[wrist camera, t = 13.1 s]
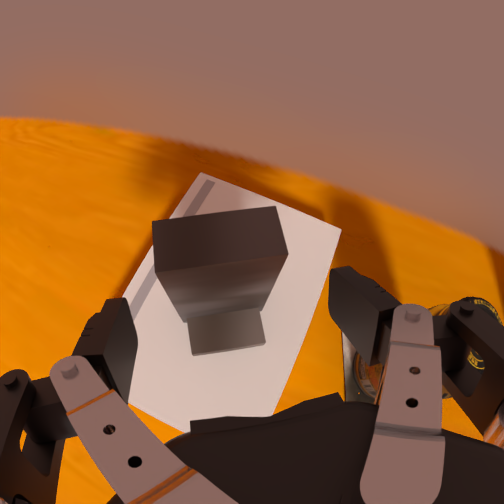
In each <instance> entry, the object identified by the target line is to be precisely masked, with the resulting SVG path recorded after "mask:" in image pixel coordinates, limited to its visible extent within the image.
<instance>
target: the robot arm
mask: <svg viewBox="0 0 504 504" xmlns="http://www.w3.org/2000/svg"><path fill="white" fill-rule="evenodd" d="M328 308H329V313H330V315H331V317H332V319H333V320H334V321H335V323H336V324H337V325H338V327H339V328H340V329H341V331H342V332H343V333H344V334H345V336H346V337H347V338H348V340H349V341H350V342H351V344H352V345H353V346H354V348H355V349H356V350H357V352H358V353H359V354H360V356H361V357H362V358H363V359H364V361H365V362H366V363H367V365H368V366H369V367H370V366H373V365H376V364H379V363H381V364H382V365H383V366H382V370H381V374H380V379H379V384H378V389H377V393H376V397H375V402H374V404H372V403H366V402H358V401H345V402H343V400H342V398H341V396H340V395H339V393H338V392H337V393H333V394H329V395H326V396H322V397H318V398H314V399H311V400H306V401H303V402H301V403H299V404H297V405H295V406H292V407H290V408H288V409H286V410H283V411H281V412H279V413H277V414H274V415H272V416H268V417H241V416H224V417H217V418H209V419H200V420H191V421H190V432H187V433H184V434H182V435H179V436H177V437H175V438H173V439H171V440H169V441H168V442H166V443H165V444H163V443H162V442H161V441H160V440H159V439H158V438H157V437H156V436H155V435H154V434H153V433H152V432H151V431H150V430H149V429H148V428H147V426H146V425H145V424H144V423H143V422H142V421H141V420H140V419H139V418H138V417H137V416H136V414H135V413H134V412H133V411H132V410H131V409H130V408H129V407H128V399H129V393H130V387H131V381H132V376H133V370H134V365H135V359H136V354H137V349H138V337H137V332H136V328H135V325H134V322H133V318H132V315H131V311H130V308H129V304H128V301H127V299H126V298H125V297H122V298H114V299H107V300H106V301H105V303H104V306H103V308H102V310H101V312H100V313H95V314H94V315H93V316H92V317H91V318H90V319H89V320H88V321H87V323H86V325H85V327H84V330H83V332H82V334H81V337H80V338H79V340H78V342H77V344H76V347H75V349H74V351H73V353H72V355H71V356H69V357H65V358H63V359H61V360H59V361H58V362H57V363H55V364H54V366H53V367H52V368H51V370H50V376H49V377H46V378H41V379H37V380H33V381H31V379H30V377H29V375H28V374H27V372H26V371H24V370H21V369H15V370H11V371H9V372H7V373H5V374H4V375H3V376H1V377H0V504H55V503H56V494H57V486H58V479H59V472H60V466H61V460H62V454H63V449H64V443H65V439H66V438H71V437H75V436H79V438H80V440H81V441H82V443H83V445H84V446H85V448H86V450H87V451H88V453H89V454H90V456H91V458H92V459H93V461H94V462H95V464H96V465H97V467H98V468H99V470H100V471H101V473H102V474H103V475H104V477H105V478H106V480H107V481H108V482H109V484H110V485H111V487H112V488H113V489H114V491H115V492H116V494H115V495H114V496H113V497H112V498H111V499H110V500H109V501H108V502H107V504H504V326H502V325H501V324H500V323H499V322H497V321H496V320H495V319H494V318H492V317H491V316H490V315H489V314H487V313H486V312H485V311H484V310H482V309H481V308H480V307H478V306H477V305H475V304H473V303H471V302H467V301H455V302H453V303H451V304H450V307H449V311H448V314H447V315H439V316H432V314H431V312H430V311H429V310H428V309H426V308H425V307H423V306H420V305H416V304H403V305H402V304H401V303H400V302H399V301H398V300H397V299H395V298H394V297H393V296H392V295H391V294H389V293H388V292H386V290H385V289H384V288H382V287H380V285H379V284H377V283H376V282H375V281H374V280H372V279H370V278H367V277H365V276H363V275H362V276H361V275H360V274H359V273H357V272H356V271H355V270H354V269H353V268H351V267H350V266H346V267H340V268H334V269H331V271H330V275H329V297H328ZM471 349H473V350H474V351H476V352H477V353H478V354H479V355H480V356H481V357H482V359H483V361H484V372H483V374H482V375H481V374H480V373H479V372H478V370H477V369H476V368H475V367H474V366H473V365H472V364H471V363H470V362H469V361H468V360H467V359H468V357H469V354H470V352H471ZM442 385H443V386H444V387H445V388H446V390H447V391H448V392H449V393H450V395H451V396H452V397H453V398H454V400H455V401H456V402H457V403H458V405H459V406H460V407H461V408H462V410H463V411H464V412H465V414H466V415H467V416H468V417H469V419H470V420H471V421H472V423H473V424H474V425H475V426H476V428H477V429H478V430H479V432H480V433H481V434H482V436H483V440H484V441H480V440H477V439H473V438H470V437H467V436H463V435H460V434H457V433H454V432H451V431H448V430H445V429H442V428H441V422H442ZM23 430H24V431H25V432H26V433H27V435H26V439H25V442H24V446H23V449H22V452H21V449H20V437H21V434H22V431H23Z"/></svg>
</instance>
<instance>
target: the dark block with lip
mask: <svg viewBox="0 0 504 504" xmlns="http://www.w3.org/2000/svg"><path fill="white" fill-rule="evenodd" d="M152 233H153V253H154V269H155V274H156V276H157V278H158V280H159V281H160V283H161V285H162V287H163V288H164V290H165V292H166V294H167V296H168V297H169V299H170V301H171V302H172V304H173V306H174V308H175V309H176V311H177V313H178V314H179V316H180V318H181V319H182V321H183V323H186V322H187V326H188V333H189V339H190V346H191V353H192V355H193V356H199V355H207V354H213V353H220V352H227V351H233V350H239V349H245V348H251V347H256V346H262V345H264V344H265V343H266V340H265V335H264V330H263V325H262V320H261V316H260V311H262V310H263V308H264V306H265V304H266V301H267V299H268V297H269V295H270V293H271V291H272V289H273V287H274V285H275V282H276V280H277V278H278V276H279V274H280V272H281V270H282V268H283V265H284V263H285V261H286V259H287V257H288V255H289V253H288V249H287V245H286V242H285V238H284V234H283V230H282V227H281V223H280V219H279V215H278V212H277V208H276V206H268V207H259V208H250V209H241V210H233V211H225V212H217V213H209V214H201V215H193V216H186V217H179V218H172V219H165V220H158V221H152Z"/></svg>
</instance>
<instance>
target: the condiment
mask: <svg viewBox="0 0 504 504" xmlns="http://www.w3.org/2000/svg"><path fill="white" fill-rule="evenodd" d="M459 301H467V302H471V303H473V304H475V305H477V306H478V307H480V308H481V309H482V310H484V311H485V312H486V313H487V314H489V315H490V316H491V317H492V318H494V319H495V320H496V321H497V322H499V323H500V324H501V325H502V322H501V319H500V317H499V315H498V313H497V311H496V310H495V308H494V307H493V306H492V305H491V304H490V303H489V302H487V301H486V300H484V299H482V298H476V297H466V298H463V299H461V300H459ZM449 307H450V305H449V304H442V305H437V306H434V307H432V308H429V309H428V310H429V311H430V312H431V314H432V316H439V315H447V314H448V311H449ZM502 326H503V325H502ZM342 336H343V355H344V371H345V387H346V401H358V402H366V403H372V404H374V402H375V397H376V393H377V389H378V384H379V379H380V374H381V370H382V366H383V365H382V364H381V363H379V364H376V365H373V366H370V367H369V366H368V365H367V363H366V362H365V361H364V359H363V358H362V357H361V356H360V354H359V353H358V352H357V350H356V349H355V348H354V346H353V345H352V344H351V342H350V341H349V340H348V338H347V337H346V336H345V334H344V333H343V332H342ZM467 360H468V361H469V362H470V363H471V364H472V365H473V366H474V367H475V368H476V369H477V370H478V372H479V373H480V374H481V375H482V374H483V372H484V361H483V359H482V357H481V356H480V355H479V354H478V353H477V352H476V351H474V350H473V349H471V352H470V354H469V357H468V359H467ZM358 393H360V394H358ZM450 397H452V396H451V395H450V393H449V392H448V391H447V390H446V388H445V387H444V386H443V385H442V399H447V398H450Z"/></svg>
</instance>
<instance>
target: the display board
mask: <svg viewBox="0 0 504 504" xmlns="http://www.w3.org/2000/svg"><path fill="white" fill-rule="evenodd" d="M268 206H276V208H277V212H278V215H279V219H280V223H281V227H282V230H283V234H284V238H285V242H286V245H287V249H288V253H289V255H288V257H287V259H286V261H285V263H284V265H283V268H282V270H281V272H280V274H279V276H278V278H277V280H276V282H275V285H274V287H273V289H272V291H271V293H270V295H269V297H268V299H267V301H266V304H265V306H264V308H263V310H262V311H260V316H261V320H262V325H263V330H264V335H265V340H266V343H265V344H264V345H262V346H256V347H251V348H245V349H239V350H233V351H227V352H220V353H213V354H207V355H199V356H193V355H192V353H191V346H190V339H189V333H188V326H187V322H186V323H183V321H182V319H181V318H180V316H179V314H178V313H177V311H176V309H175V308H174V306H173V304H172V302H171V301H170V299H169V297H168V296H167V294H166V292H165V290H164V288H163V287H162V285H161V283H160V281H159V280H158V278H157V276H156V274H155V269H154V253H153V245H152V247H151V248H150V250H149V252H148V253H147V255H146V257H145V258H144V260H143V262H142V263H141V265H140V267H139V268H138V270H137V272H136V273H135V275H134V277H133V279H132V280H131V282H130V284H129V286H128V287H127V289H126V291H125V293H124V294H123V296H122V297H125V298H126V299H127V301H128V304H129V308H130V311H131V315H132V318H133V322H134V325H135V328H136V332H137V337H138V349H137V354H136V359H135V365H134V370H133V376H132V381H131V387H130V393H129V399H128V403H130V404H132V405H133V406H135V407H137V408H139V409H140V410H142V411H144V412H146V413H147V414H149V415H151V416H153V417H155V418H157V419H159V420H161V421H162V422H164V423H166V424H168V425H170V426H172V427H174V428H176V429H178V430H180V431H183V432H185V433H187V432H190V421H191V420H200V419H209V418H217V417H224V416H241V417H268V416H272V414H273V412H274V410H275V408H276V405H277V403H278V401H279V398H280V396H281V394H282V391H283V389H284V387H285V384H286V382H287V380H288V377H289V375H290V372H291V370H292V368H293V365H294V363H295V360H296V358H297V355H298V353H299V350H300V348H301V345H302V343H303V340H304V337H305V335H306V332H307V329H308V327H309V324H310V322H311V319H312V316H313V313H314V311H315V308H316V305H317V302H318V300H319V297H320V294H321V291H322V288H323V285H324V282H325V280H326V277H327V274H328V271H329V268H330V265H331V262H332V259H333V256H334V252H335V249H336V246H337V243H338V240H339V237H340V233H341V230H342V229H339V228H337V227H335V226H333V225H330V224H328V223H326V222H323V221H321V220H319V219H317V218H314V217H312V216H310V215H307V214H305V213H302V212H300V211H298V210H295V209H293V208H291V207H288V206H286V205H283V204H281V203H279V202H276V201H274V200H271V199H269V198H266V197H264V196H261V195H259V194H256V193H254V192H251V191H249V190H246V189H244V188H241V187H238V186H236V185H233V184H231V183H228V182H226V181H223V180H220V179H218V178H215V177H212V176H210V175H207V174H204V173H202V172H200V174H199V175H198V177H197V178H196V179H195V181H194V182H193V184H192V185H191V187H190V188H189V190H188V191H187V193H186V194H185V196H184V197H183V199H182V200H181V202H180V203H179V205H178V206H177V208H176V209H175V211H174V212H173V214H172V215H171V217H170V218H169V219H172V218H179V217H186V216H193V215H201V214H209V213H217V212H225V211H233V210H241V209H250V208H259V207H268Z"/></svg>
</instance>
